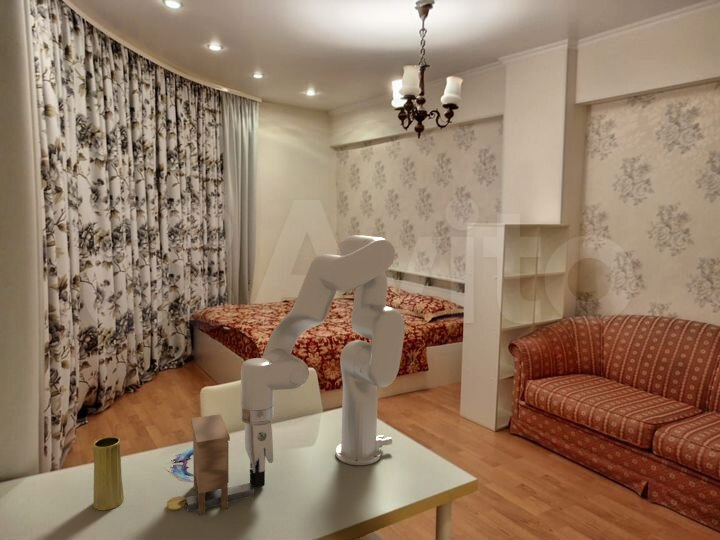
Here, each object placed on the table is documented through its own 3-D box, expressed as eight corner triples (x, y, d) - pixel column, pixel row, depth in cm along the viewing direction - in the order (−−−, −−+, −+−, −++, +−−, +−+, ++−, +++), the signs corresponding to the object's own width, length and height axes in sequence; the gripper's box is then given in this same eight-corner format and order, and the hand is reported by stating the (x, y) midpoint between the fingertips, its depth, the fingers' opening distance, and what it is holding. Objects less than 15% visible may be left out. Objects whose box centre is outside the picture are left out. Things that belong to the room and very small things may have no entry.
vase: (102, 494, 111) (100, 434, 109) (129, 495, 111) (127, 436, 109) (87, 510, 105) (84, 447, 103) (114, 511, 105) (113, 449, 103)
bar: (250, 490, 115) (250, 482, 114) (253, 497, 112) (253, 489, 112) (186, 505, 108) (186, 497, 108) (188, 513, 105) (188, 504, 105)
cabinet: (221, 480, 118) (220, 414, 116) (229, 509, 106) (229, 436, 105) (191, 485, 115) (191, 418, 113) (197, 516, 104) (196, 442, 102)
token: (188, 501, 109) (188, 496, 109) (183, 512, 105) (183, 506, 105) (170, 501, 109) (170, 496, 109) (164, 512, 105) (164, 507, 105)
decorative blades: (173, 444, 134) (210, 443, 136) (173, 447, 134) (210, 445, 136) (154, 483, 115) (198, 481, 117) (154, 486, 115) (198, 484, 117)
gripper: (281, 422, 108) (280, 499, 110) (265, 398, 121) (265, 467, 124) (247, 427, 105) (247, 506, 107) (235, 402, 118) (235, 473, 121)
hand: (257, 485), depth 115 cm, fingers closed
